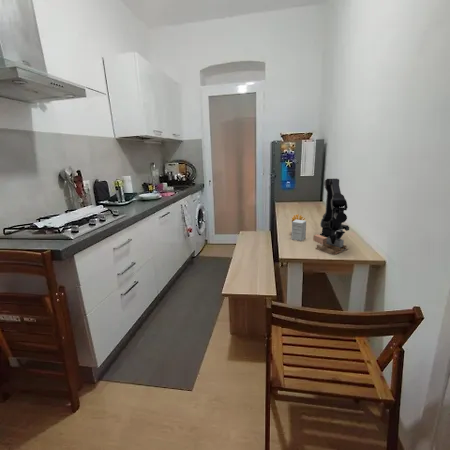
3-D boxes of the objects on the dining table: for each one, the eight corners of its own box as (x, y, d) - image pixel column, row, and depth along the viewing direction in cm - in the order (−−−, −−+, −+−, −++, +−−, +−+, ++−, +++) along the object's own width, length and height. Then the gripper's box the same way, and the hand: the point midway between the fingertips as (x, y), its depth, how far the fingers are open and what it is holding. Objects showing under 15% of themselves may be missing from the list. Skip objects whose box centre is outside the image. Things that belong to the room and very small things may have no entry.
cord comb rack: (315, 248, 158) (315, 244, 157) (328, 244, 164) (328, 240, 164) (334, 255, 147) (334, 251, 146) (347, 250, 154) (348, 246, 153)
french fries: (291, 236, 183) (292, 215, 179) (290, 232, 190) (291, 212, 186) (304, 236, 181) (305, 215, 177) (303, 232, 189) (304, 212, 185)
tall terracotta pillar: (313, 240, 173) (313, 234, 171) (317, 239, 174) (317, 234, 173) (322, 244, 164) (323, 238, 163) (327, 243, 166) (327, 238, 165)
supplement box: (295, 236, 181) (296, 219, 178) (305, 238, 177) (306, 220, 174) (290, 239, 176) (291, 221, 173) (301, 241, 171) (302, 223, 168)
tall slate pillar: (326, 243, 160) (326, 237, 158) (329, 242, 161) (330, 236, 160) (339, 247, 152) (340, 241, 151) (343, 246, 154) (343, 240, 153)
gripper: (334, 213, 164) (332, 237, 168) (315, 218, 154) (313, 243, 158) (350, 216, 155) (348, 241, 159) (331, 222, 145) (329, 248, 149)
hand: (334, 243), depth 157 cm, fingers closed on tall slate pillar, 3 cm apart
